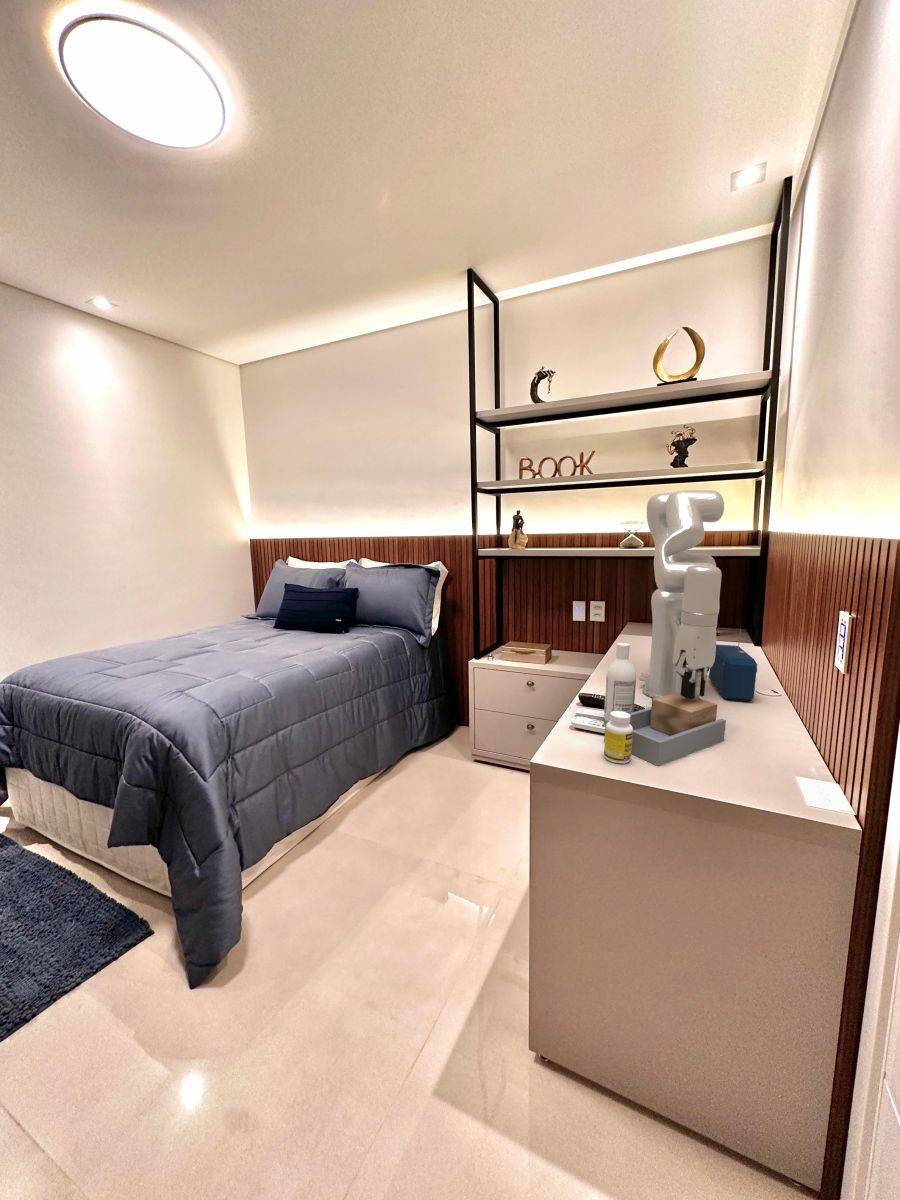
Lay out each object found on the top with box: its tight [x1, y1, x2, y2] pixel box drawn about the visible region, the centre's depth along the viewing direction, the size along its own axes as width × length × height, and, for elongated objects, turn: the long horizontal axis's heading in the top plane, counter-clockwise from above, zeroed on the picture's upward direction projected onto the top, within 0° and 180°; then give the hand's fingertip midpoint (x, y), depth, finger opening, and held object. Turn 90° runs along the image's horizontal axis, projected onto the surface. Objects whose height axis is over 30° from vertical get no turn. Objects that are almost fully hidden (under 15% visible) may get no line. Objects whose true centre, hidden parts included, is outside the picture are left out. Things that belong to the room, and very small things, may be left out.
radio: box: [708, 628, 758, 702], centre depth 149 cm, size 21×9×20 cm, turn 164°
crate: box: [650, 669, 718, 736], centre depth 117 cm, size 10×10×14 cm
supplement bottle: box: [603, 711, 633, 764], centre depth 105 cm, size 5×5×10 cm
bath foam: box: [603, 642, 637, 720], centre depth 124 cm, size 7×7×20 cm
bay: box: [603, 706, 727, 767], centre depth 115 cm, size 14×24×5 cm, turn 122°
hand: (692, 695), depth 119 cm, fingers closed on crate, 3 cm apart
